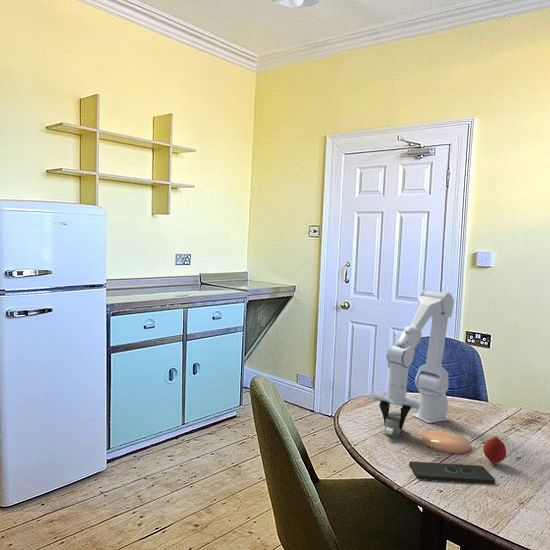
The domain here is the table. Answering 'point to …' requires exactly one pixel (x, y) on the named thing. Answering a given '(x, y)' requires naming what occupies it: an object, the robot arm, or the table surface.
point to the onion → (494, 450)
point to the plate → (446, 442)
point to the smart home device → (451, 472)
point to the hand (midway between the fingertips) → (393, 426)
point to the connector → (392, 424)
